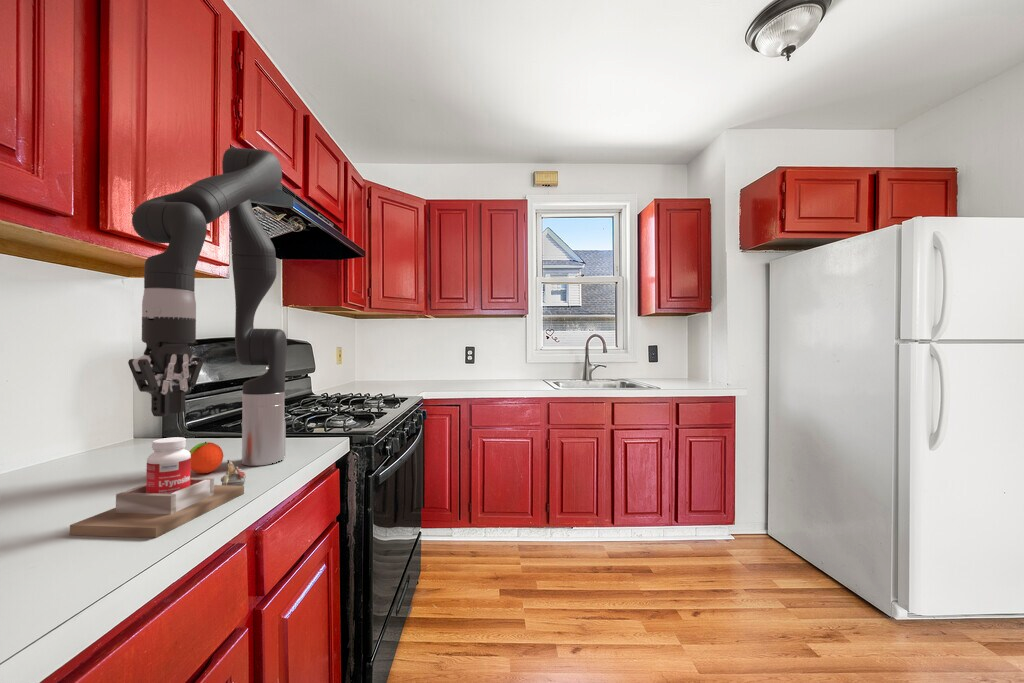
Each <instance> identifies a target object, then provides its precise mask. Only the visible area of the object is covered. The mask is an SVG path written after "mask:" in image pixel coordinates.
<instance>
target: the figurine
mask: <svg viewBox="0 0 1024 683" xmlns="http://www.w3.org/2000/svg"><path fill="white" fill-rule="evenodd" d="M226 462H227V467H228V468H227V472H225V475H223V476H221V478H220V482H221V485H229V486H245V485H244V484H245V482H246V477H247V475H246V473H245V472H244V471H243V468H239V467H238V465H236V466H235V465H234V463H233V462H232V460H231V459H227V460H226Z"/></svg>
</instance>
